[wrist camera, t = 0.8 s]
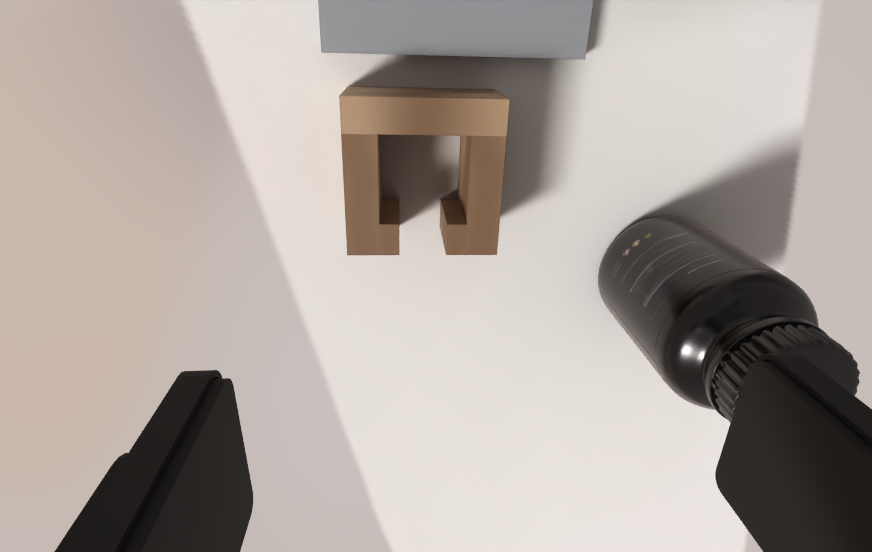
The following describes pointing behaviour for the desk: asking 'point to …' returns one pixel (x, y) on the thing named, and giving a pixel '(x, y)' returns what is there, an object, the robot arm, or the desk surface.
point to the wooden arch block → (424, 115)
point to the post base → (457, 27)
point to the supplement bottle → (710, 311)
